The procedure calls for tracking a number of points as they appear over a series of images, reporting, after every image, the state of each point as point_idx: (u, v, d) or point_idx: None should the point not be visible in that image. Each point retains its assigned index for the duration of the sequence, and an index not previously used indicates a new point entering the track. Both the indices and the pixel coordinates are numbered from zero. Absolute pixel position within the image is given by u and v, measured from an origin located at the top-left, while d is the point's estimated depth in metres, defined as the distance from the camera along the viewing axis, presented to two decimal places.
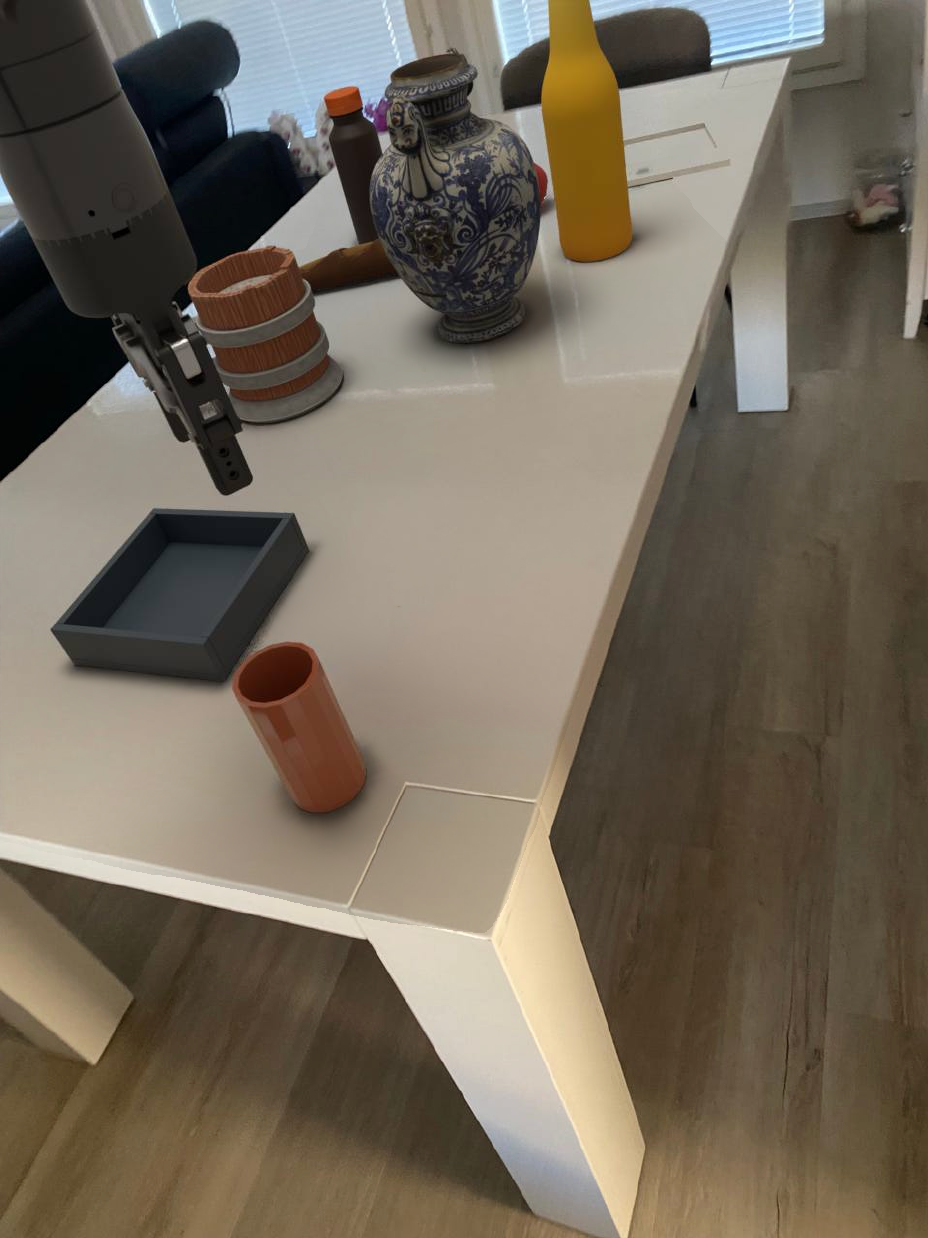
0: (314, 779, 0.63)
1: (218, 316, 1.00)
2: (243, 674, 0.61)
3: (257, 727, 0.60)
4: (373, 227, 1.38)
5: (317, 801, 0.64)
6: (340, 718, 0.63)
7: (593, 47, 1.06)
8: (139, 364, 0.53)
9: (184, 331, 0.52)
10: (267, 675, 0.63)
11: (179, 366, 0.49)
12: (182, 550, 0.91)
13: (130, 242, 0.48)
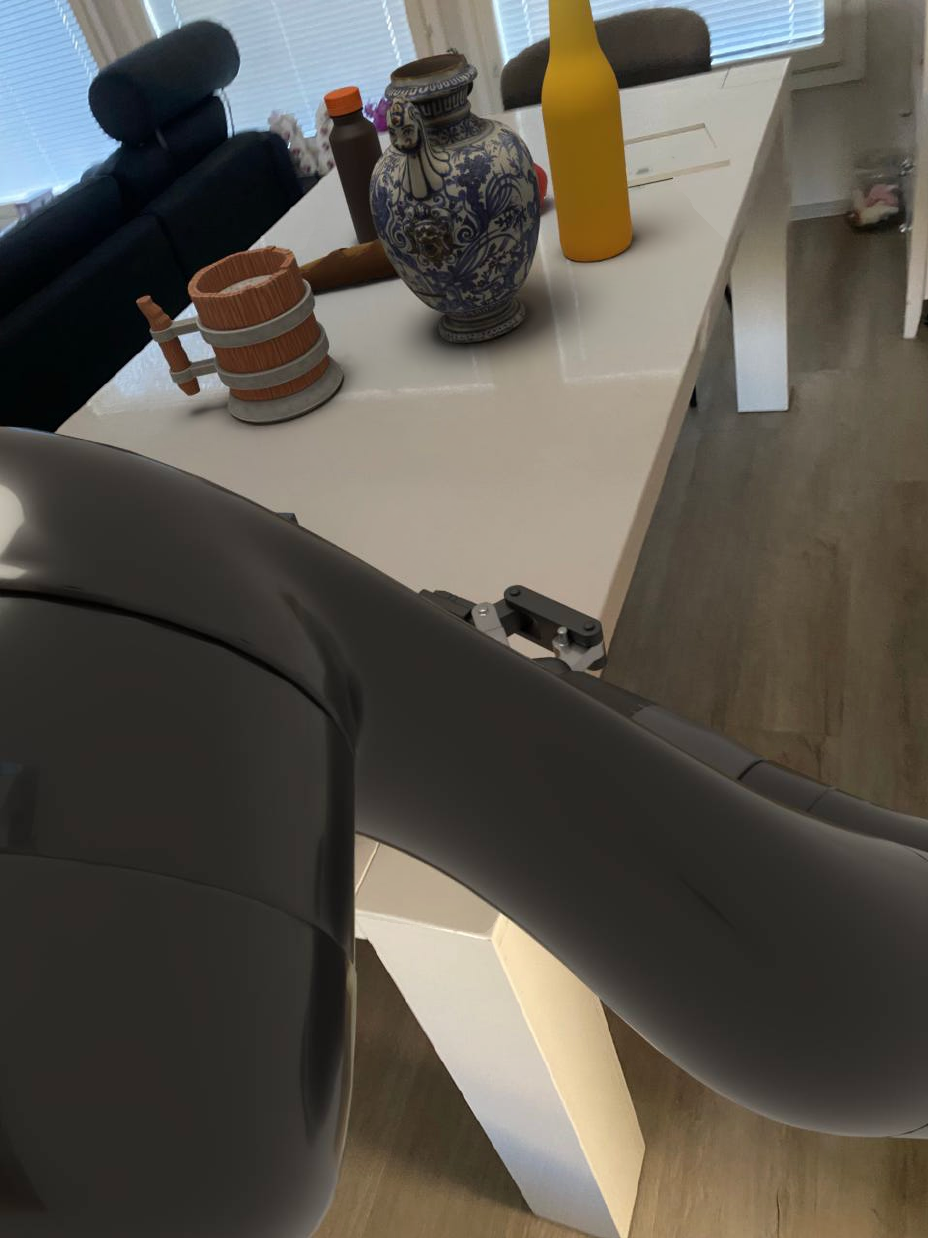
0: None
1: (218, 316, 1.00)
2: None
3: None
4: (373, 227, 1.38)
5: None
6: None
7: (593, 47, 1.06)
8: None
9: None
10: None
11: None
12: None
13: None
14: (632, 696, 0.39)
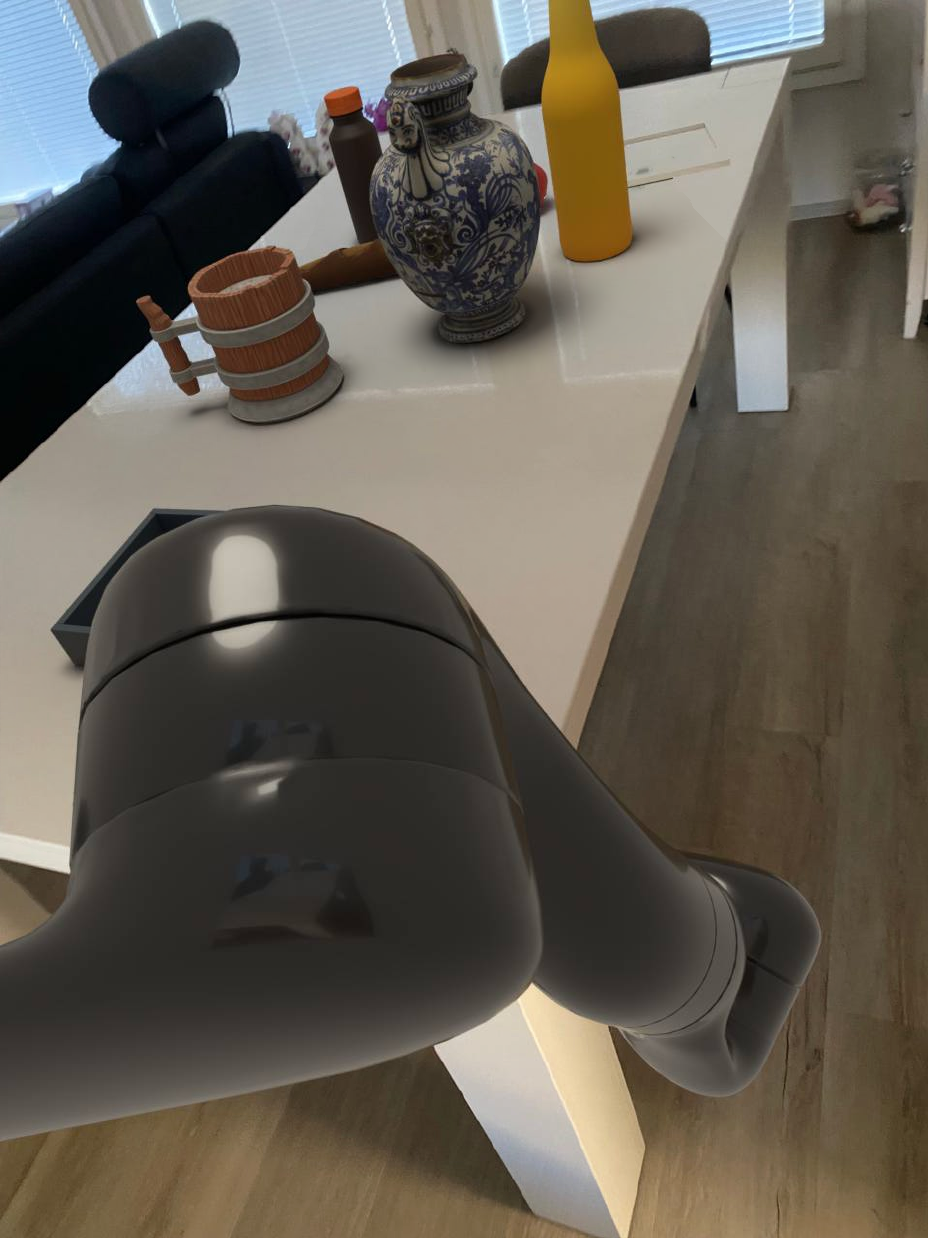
0: None
1: (218, 316, 1.00)
2: None
3: None
4: (373, 227, 1.38)
5: None
6: None
7: (593, 47, 1.06)
8: None
9: None
10: None
11: None
12: None
13: None
14: None
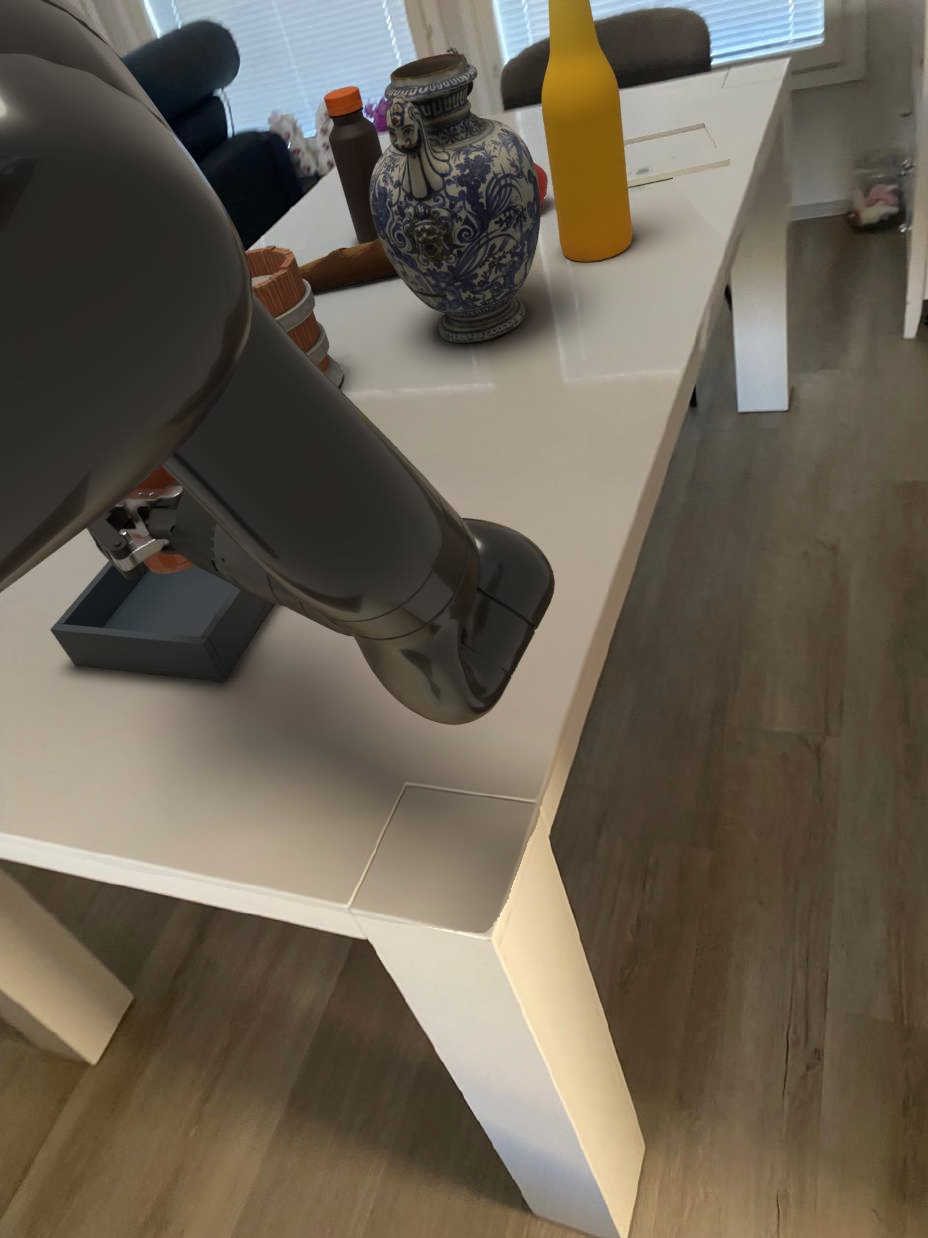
0: None
1: None
2: None
3: None
4: (373, 227, 1.38)
5: (164, 560, 0.69)
6: None
7: (593, 47, 1.06)
8: (157, 496, 0.61)
9: (165, 553, 0.61)
10: None
11: (111, 554, 0.60)
12: None
13: (210, 566, 0.58)
14: None
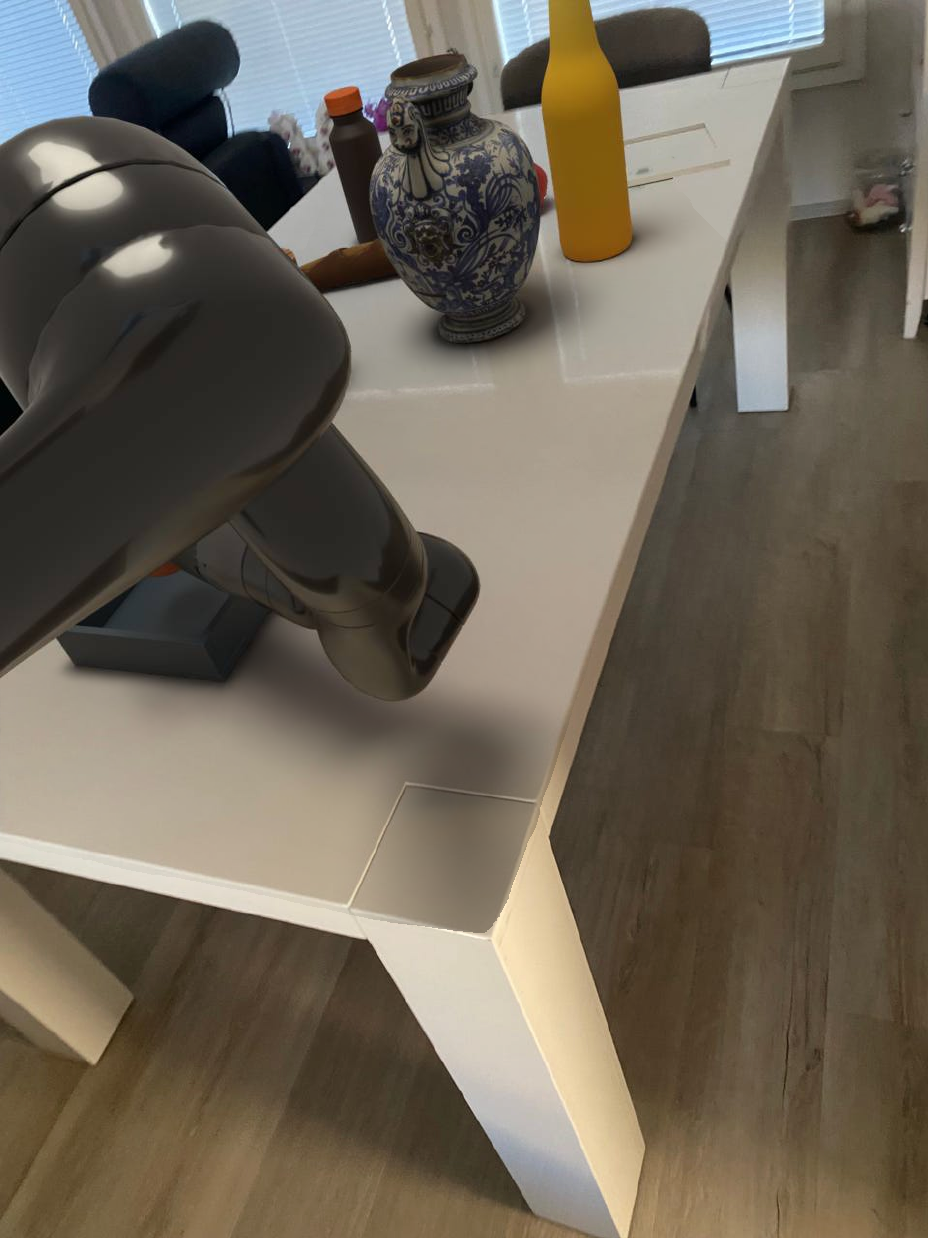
0: None
1: None
2: None
3: None
4: (373, 227, 1.38)
5: None
6: None
7: (593, 47, 1.06)
8: None
9: None
10: None
11: None
12: None
13: (194, 571, 0.68)
14: None
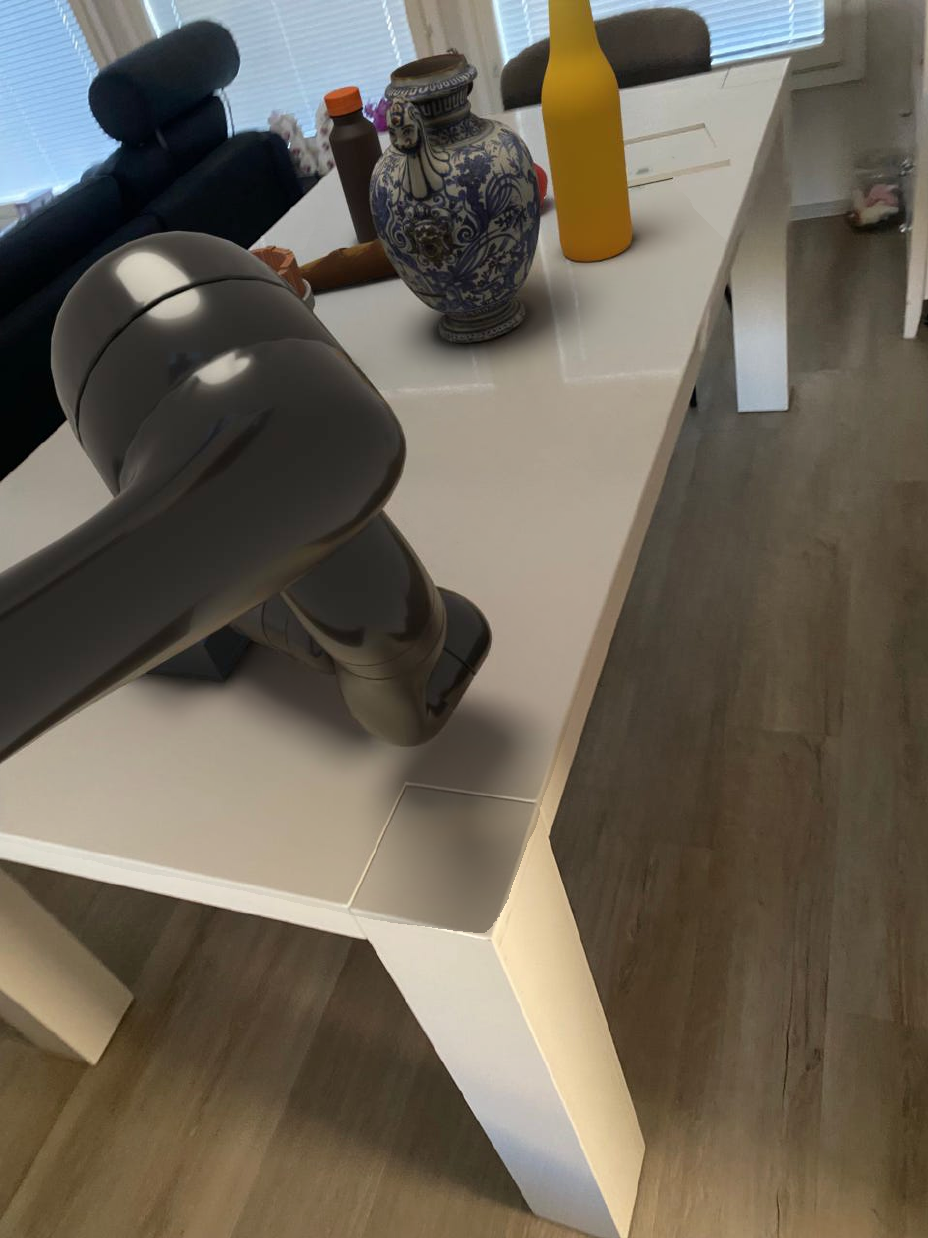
0: None
1: None
2: None
3: None
4: (373, 227, 1.38)
5: None
6: None
7: (593, 47, 1.06)
8: None
9: None
10: None
11: None
12: None
13: None
14: None
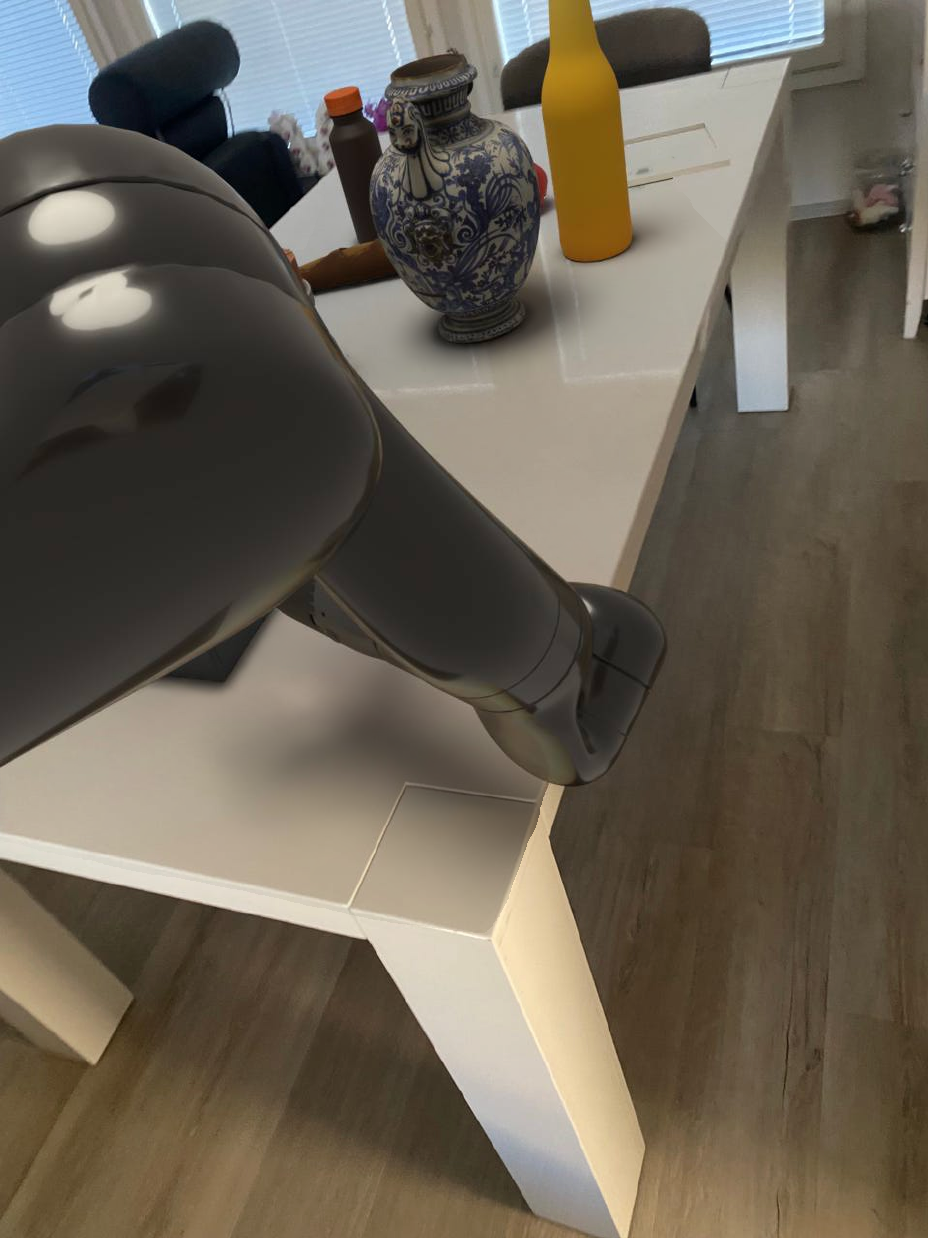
0: None
1: None
2: None
3: None
4: (373, 227, 1.38)
5: None
6: None
7: (593, 47, 1.06)
8: None
9: None
10: None
11: None
12: None
13: (307, 619, 0.59)
14: None
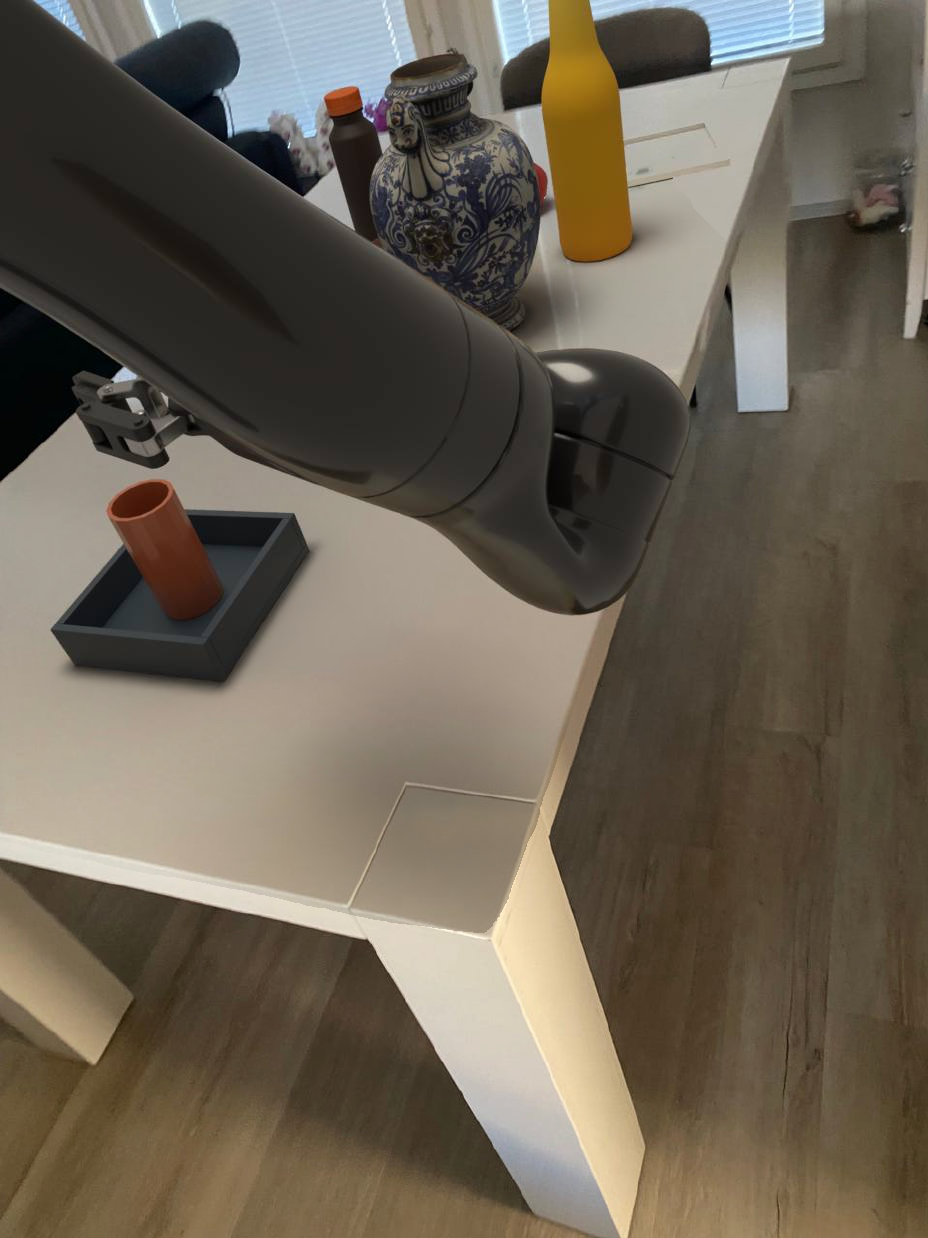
0: (175, 588, 0.80)
1: None
2: (116, 502, 0.79)
3: (126, 541, 0.78)
4: (373, 227, 1.38)
5: (180, 609, 0.82)
6: (195, 540, 0.80)
7: (593, 47, 1.06)
8: None
9: (188, 435, 0.51)
10: (138, 507, 0.80)
11: (130, 438, 0.49)
12: None
13: None
14: None
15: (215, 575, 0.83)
